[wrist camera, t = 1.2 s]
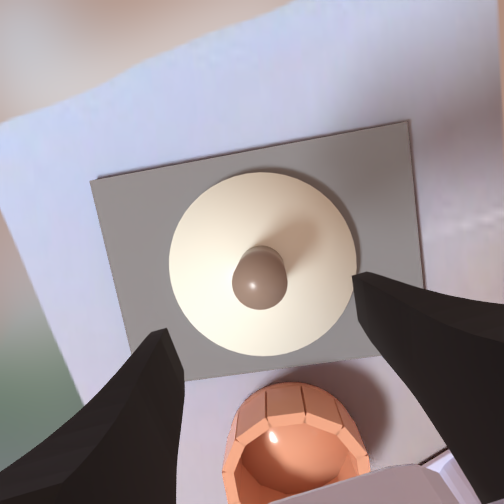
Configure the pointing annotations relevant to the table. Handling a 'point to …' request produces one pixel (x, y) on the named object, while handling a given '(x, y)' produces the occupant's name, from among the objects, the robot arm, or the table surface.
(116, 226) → the mat
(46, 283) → the table surface
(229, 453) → the bowl
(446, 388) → the robot arm
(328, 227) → the lid
